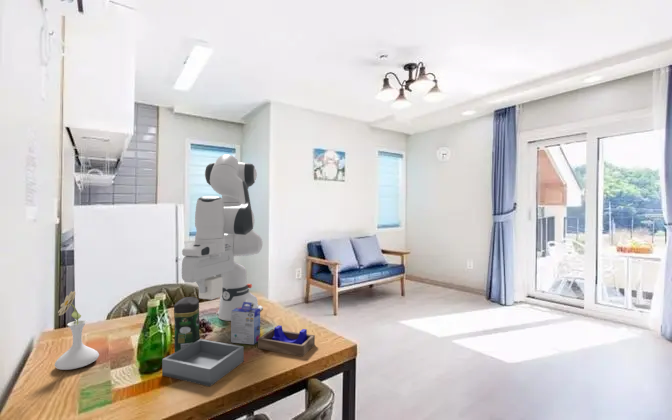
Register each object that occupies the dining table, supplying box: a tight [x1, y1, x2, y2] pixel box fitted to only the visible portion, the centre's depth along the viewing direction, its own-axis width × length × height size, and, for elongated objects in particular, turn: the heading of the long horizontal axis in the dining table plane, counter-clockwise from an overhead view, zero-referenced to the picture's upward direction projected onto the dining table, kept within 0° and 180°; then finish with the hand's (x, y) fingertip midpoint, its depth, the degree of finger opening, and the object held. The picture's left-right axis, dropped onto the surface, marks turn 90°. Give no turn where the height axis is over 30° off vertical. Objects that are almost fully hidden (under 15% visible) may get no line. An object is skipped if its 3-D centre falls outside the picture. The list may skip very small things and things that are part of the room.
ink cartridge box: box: [230, 302, 261, 345], centre depth 125 cm, size 10×6×14 cm, turn 78°
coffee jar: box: [173, 296, 201, 353], centre depth 117 cm, size 10×8×19 cm
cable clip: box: [272, 325, 308, 345], centre depth 122 cm, size 12×4×6 cm, turn 70°
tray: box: [161, 338, 245, 387], centre depth 104 cm, size 16×18×5 cm
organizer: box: [257, 328, 316, 357], centre depth 120 cm, size 10×18×4 cm, turn 70°
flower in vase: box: [54, 290, 100, 371], centre depth 106 cm, size 13×11×25 cm
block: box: [198, 275, 222, 300], centre depth 104 cm, size 5×5×6 cm
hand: (210, 290), depth 104 cm, fingers closed on block, 5 cm apart
